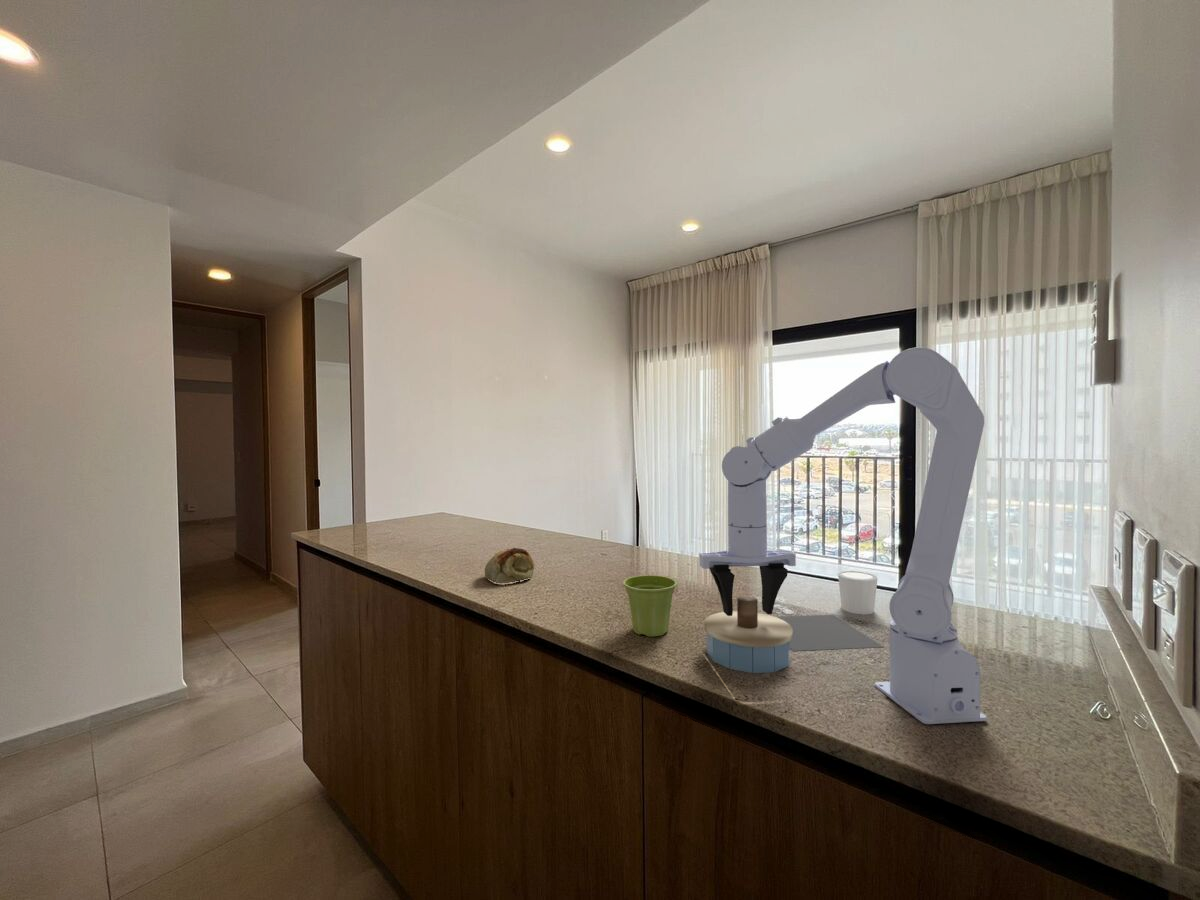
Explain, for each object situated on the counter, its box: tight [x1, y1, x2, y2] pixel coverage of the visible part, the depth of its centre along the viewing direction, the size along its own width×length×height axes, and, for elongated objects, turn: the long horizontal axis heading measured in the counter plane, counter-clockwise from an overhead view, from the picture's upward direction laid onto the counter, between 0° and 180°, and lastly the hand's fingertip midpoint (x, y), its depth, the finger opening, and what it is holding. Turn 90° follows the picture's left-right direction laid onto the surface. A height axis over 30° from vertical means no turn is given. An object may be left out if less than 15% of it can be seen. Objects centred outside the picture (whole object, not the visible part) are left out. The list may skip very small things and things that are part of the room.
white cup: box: [837, 570, 878, 615], centre depth 97 cm, size 7×7×7 cm
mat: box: [776, 614, 885, 652], centre depth 86 cm, size 15×15×1 cm
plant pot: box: [622, 574, 678, 638], centre depth 88 cm, size 9×9×9 cm
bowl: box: [706, 632, 791, 674], centre depth 77 cm, size 12×12×4 cm
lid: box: [704, 595, 793, 647], centre depth 77 cm, size 13×13×5 cm
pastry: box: [484, 547, 535, 583], centre depth 124 cm, size 14×12×8 cm
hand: (747, 613), depth 77 cm, fingers open, 6 cm apart
